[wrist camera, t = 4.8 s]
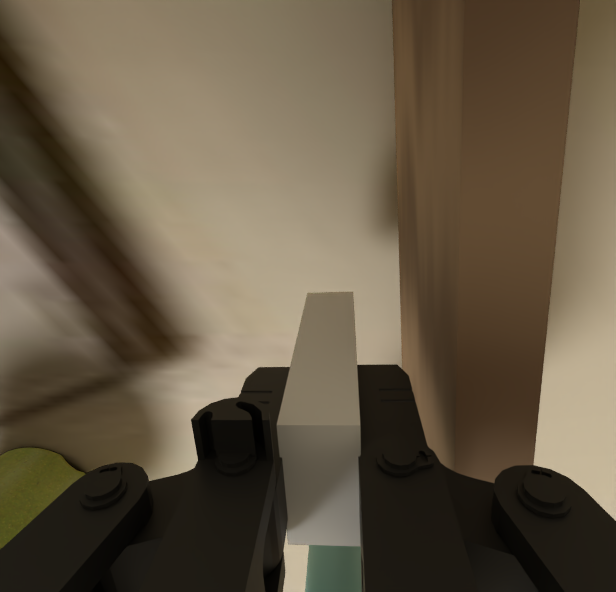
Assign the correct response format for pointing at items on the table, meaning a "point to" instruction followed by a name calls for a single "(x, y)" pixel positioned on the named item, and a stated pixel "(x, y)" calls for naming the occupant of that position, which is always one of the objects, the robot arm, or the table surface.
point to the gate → (479, 215)
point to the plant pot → (30, 486)
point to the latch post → (333, 569)
